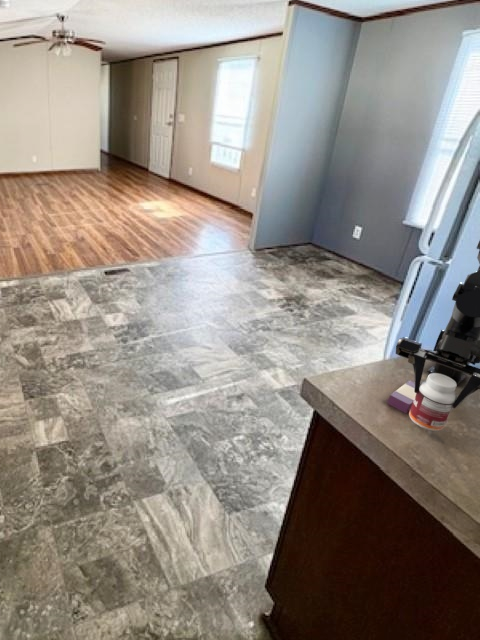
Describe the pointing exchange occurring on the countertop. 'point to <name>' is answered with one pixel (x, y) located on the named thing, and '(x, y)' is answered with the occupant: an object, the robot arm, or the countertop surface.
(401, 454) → the countertop surface
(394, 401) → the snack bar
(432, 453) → the countertop surface
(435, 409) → the pill bottle
